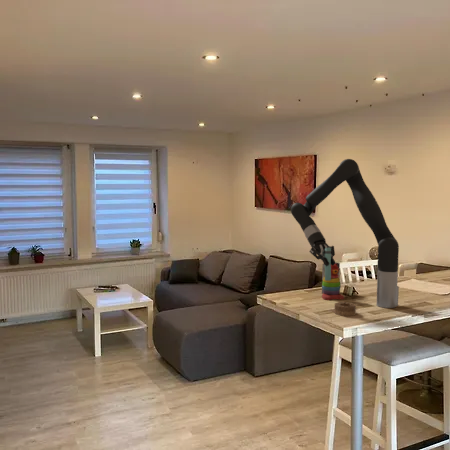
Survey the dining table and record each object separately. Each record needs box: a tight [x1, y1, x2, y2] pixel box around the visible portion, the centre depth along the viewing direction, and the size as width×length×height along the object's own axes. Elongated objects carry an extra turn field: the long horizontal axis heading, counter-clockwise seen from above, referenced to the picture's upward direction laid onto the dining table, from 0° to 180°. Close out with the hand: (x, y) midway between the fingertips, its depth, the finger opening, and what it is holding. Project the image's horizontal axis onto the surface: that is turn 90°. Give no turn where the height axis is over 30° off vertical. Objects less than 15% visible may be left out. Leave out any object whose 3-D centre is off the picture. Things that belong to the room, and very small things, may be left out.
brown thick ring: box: [334, 301, 357, 317], centre depth 216 cm, size 9×9×4 cm
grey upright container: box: [321, 261, 341, 294], centre depth 256 cm, size 9×6×16 cm
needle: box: [325, 248, 331, 280], centre depth 221 cm, size 3×3×15 cm
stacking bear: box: [321, 263, 345, 301], centre depth 245 cm, size 11×10×18 cm
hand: (330, 264), depth 220 cm, fingers closed on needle, 2 cm apart
